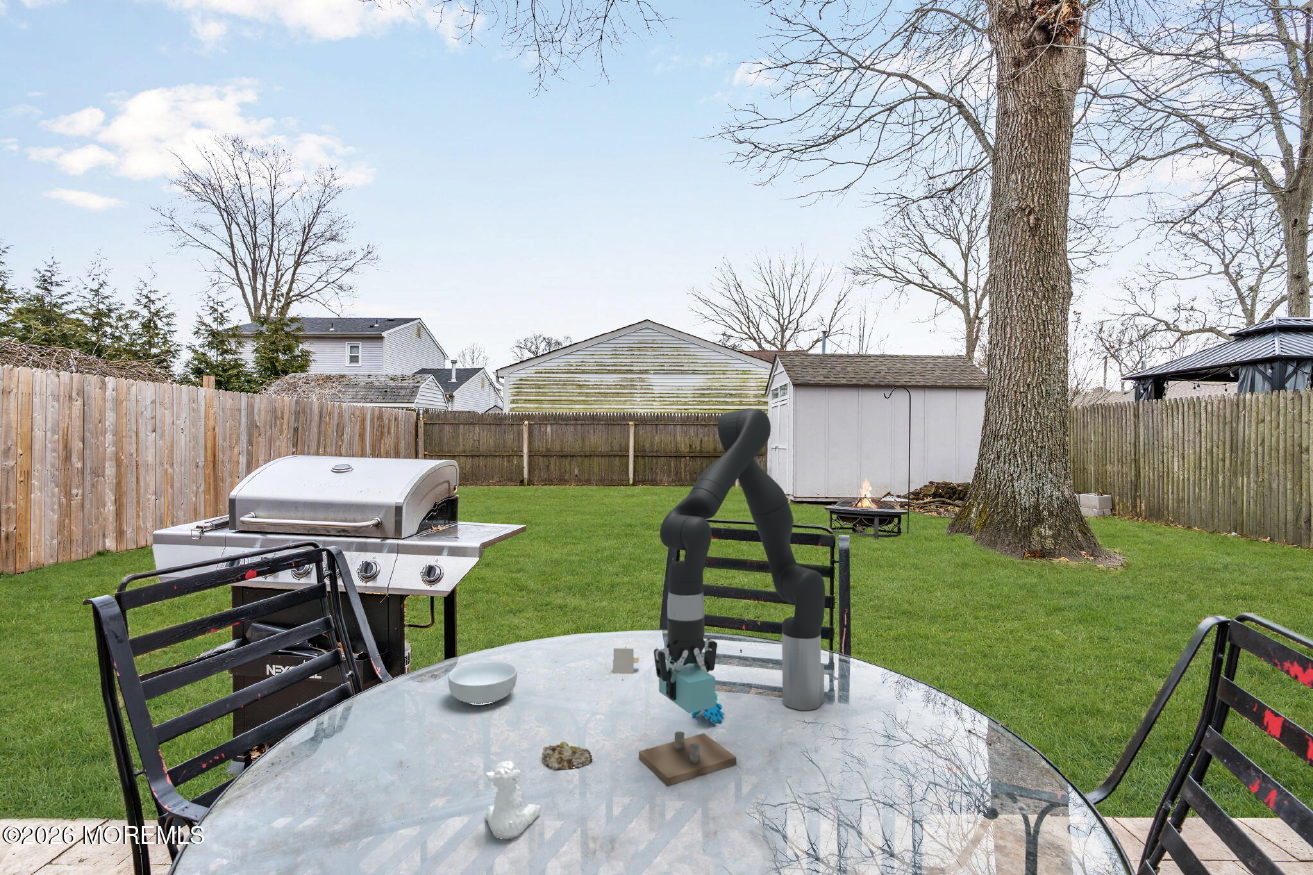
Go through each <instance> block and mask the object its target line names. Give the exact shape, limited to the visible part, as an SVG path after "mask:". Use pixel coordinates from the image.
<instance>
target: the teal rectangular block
mask: <svg viewBox="0 0 1313 875" xmlns="http://www.w3.org/2000/svg"><path fill="white" fill-rule="evenodd" d="M667 664H668V661H666V667H667V668H668V666H667ZM676 664H677V663H675V665H676ZM671 673H672V671H671ZM675 682H676V700H673V701H672V700H671V699H670V698H669V697H668V696H667V695H666V681H663V680H662V679H660V678H659V677H658V692H659V693H660V694H661V695H663V696H664V697H665V698H667V699H668V700H669V701H671V702H673V703H674V704H675V705H676V706H678V707H679V708H681V709H682V710H683V711H685V712H686V713H687V714H692V713H693V712H697V711H701V710H702V711H703V710H706V709H710V708H714V707H715V693H716V676H714V675H712V674H710V673H709V672H706V671H704V670H702V669H699V668H698V667H697V666H694V665H693V664H687V665H684V666H682V669H681V671H680V672H679V673H678V674H677V675H676V680H675ZM702 711H701V712H702Z"/></svg>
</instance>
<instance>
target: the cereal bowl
mask: <svg viewBox="0 0 1313 875" xmlns="http://www.w3.org/2000/svg"><path fill="white" fill-rule="evenodd" d="M517 678H518V670H517V667H516V666H515V665H514V664H512V663H509V662H505V661H498V660H497V661H496V660H484V661H483V660H482V661H474V662H470V663H465V664H462V665H460V666H458V667H456V668H454V669H452V670H451V671H450V672H449V674H448V688H449V691H450V693H451V695H452V696H453V697H454V698H455V699H457V700H459V701H460V702H462V701H463V703H466V702H467V704H468V703H474V704H475V703H476V704H481V703H482V704H483V703H489V702H494V701H496V702H498V701H499V700H501V699H502V700H503V699H504V698H506V697H507V696H508V695H510V694H511V692H512V691H514V689H515V688H516V683H517ZM497 700H498V701H497Z"/></svg>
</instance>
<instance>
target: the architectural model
mask: <svg viewBox="0 0 1313 875" xmlns="http://www.w3.org/2000/svg"><path fill="white" fill-rule="evenodd" d="M627 647H628V646H625V647H623V648H621V647H616V648H615V647H613V660H612V673H613V674H618V673H619V675H620V674H625V675H626V674H627V675H630V674H631V675H634V674H635V670H634V666H635V665H634V664H639V661H640V657H634V656H635V655H634V647H633V648H632V647H631V648H630V647H628V648H627Z"/></svg>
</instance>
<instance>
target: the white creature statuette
mask: <svg viewBox="0 0 1313 875" xmlns="http://www.w3.org/2000/svg"><path fill="white" fill-rule="evenodd" d="M485 775H486V777H487V782H488V781H489V782H490V783H492V786H494V788H495V787H496V788H497V791H496V792H495V793H496V794H495V796H494V802H493V803H494V804H492V805H488V807H487V808H486V812H485V817H486V822H487V821H488V822H487V823H488V826H489V828H490V830H491V832H492V834H493V836H495V838H497V837H498V838H497V839H499V838H502V839H501V840H510V839H509V838H513V839H514V837H515V838H518V837H519V836H520V835H522V832H524V831H525V830H526V829H527V828H528V826H530V825H531V824H532V823H533V821H535V820H536V819H537V817H538V816H539V815H540V813H541V810H542V808H541V806H540V805H539V804H535V803H533V804H532V803H528V804H527V806H525V807H524V808H523V807H522V804H523V803H524V800H523V792H522V790H521V787H519V786H518V783H519V780H520V775H521V770H520V769H519V767H518V766H517V765H515V764H514V763H513V762H512V761H509V760H503V761H499V762H498V764H496V765H495V767H494V769H493V770H492V771H488V772H486V774H485Z"/></svg>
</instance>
